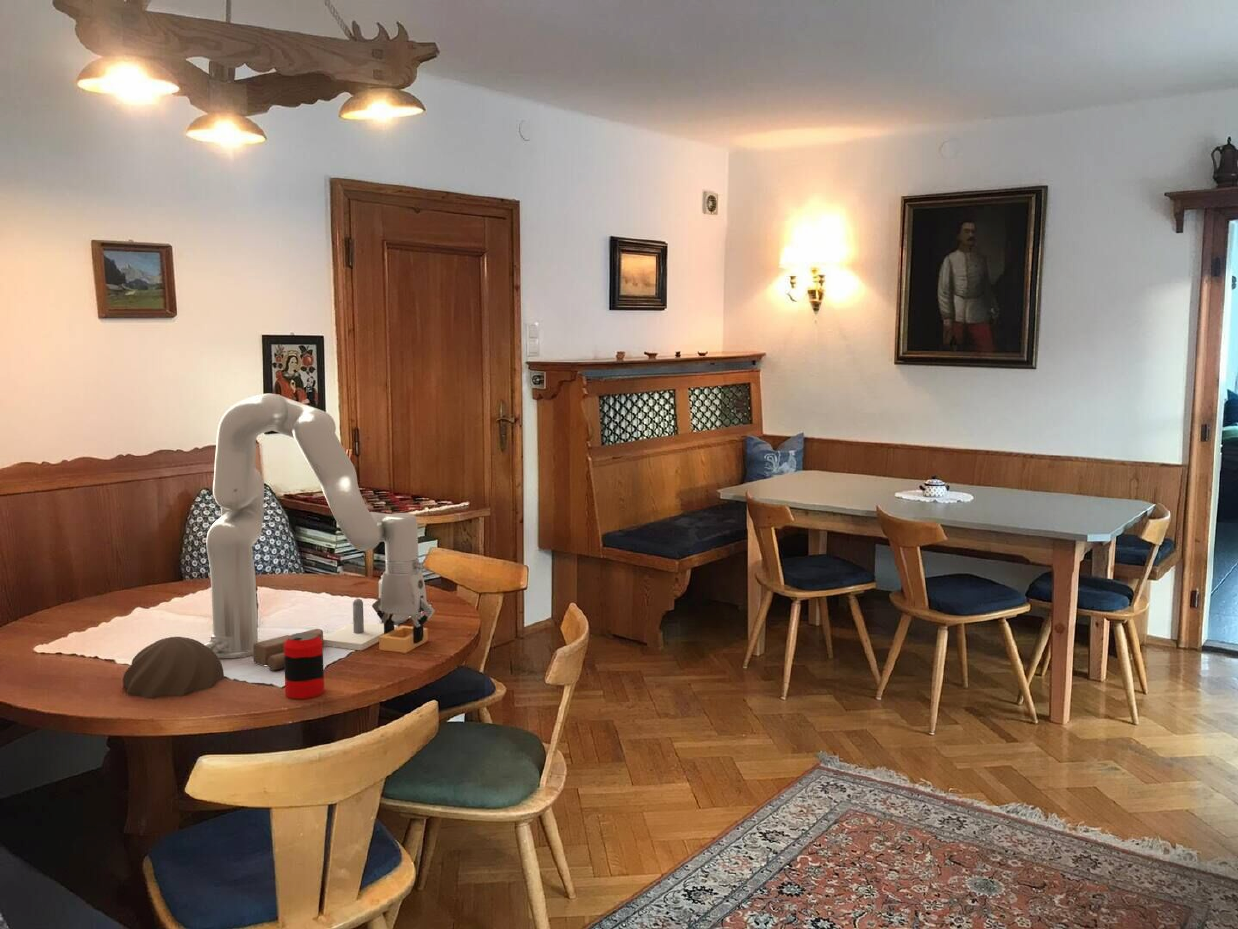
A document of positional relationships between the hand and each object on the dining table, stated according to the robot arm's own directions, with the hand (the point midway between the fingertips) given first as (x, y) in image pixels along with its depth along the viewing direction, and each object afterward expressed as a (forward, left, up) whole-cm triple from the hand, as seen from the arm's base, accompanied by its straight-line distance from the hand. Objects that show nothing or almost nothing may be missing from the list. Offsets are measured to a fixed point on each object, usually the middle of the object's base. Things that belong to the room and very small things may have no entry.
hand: (403, 639), depth 241 cm
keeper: (+1, +13, -1) cm, 13 cm away
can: (+17, +13, -2) cm, 21 cm away
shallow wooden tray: (0, 0, -1) cm, 1 cm away
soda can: (-35, +2, -2) cm, 35 cm away
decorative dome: (-39, +32, -2) cm, 50 cm away
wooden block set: (-18, +14, -2) cm, 23 cm away
